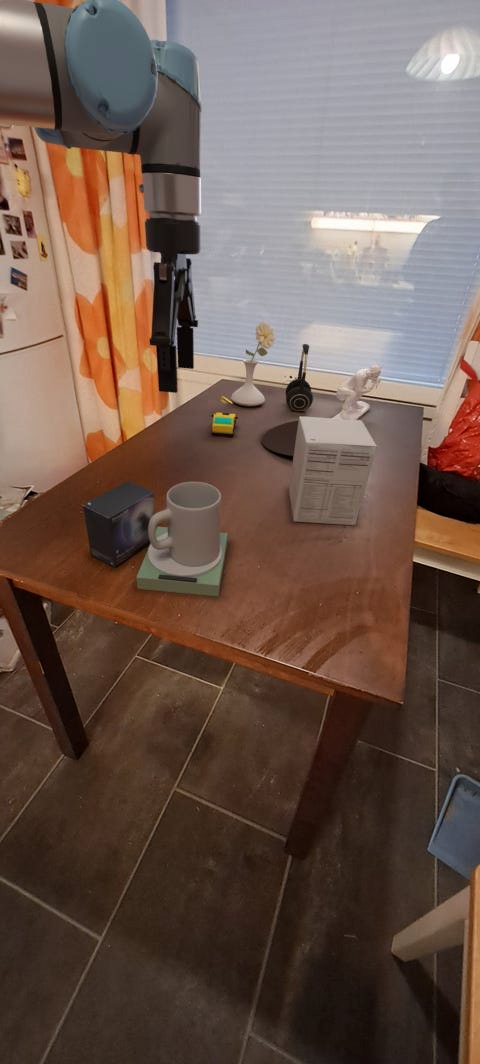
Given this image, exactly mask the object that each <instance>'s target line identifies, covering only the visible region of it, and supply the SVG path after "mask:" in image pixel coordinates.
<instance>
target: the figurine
mask: <svg viewBox="0 0 480 1064" xmlns="http://www.w3.org/2000/svg"><path fill="white" fill-rule="evenodd" d="M381 368H382V366H379V365H377V364H374V365H372V366H371V367H369V368H360V369H359V370H357V371H356V372H354V374H353V375H352V376H350V378H348V379H346V380H345V381H344V382H343V383H342V384H341V385H340V386H339V387H338V388H337V391H336V393H335V394H336V399H337V400H339V401H342V402H344V403H343V404H342V406H341V408H342V409H341V411H340V412H339V413H338V414H336V415H334V416H333V417H332V418H334V419H349V420H359V419H360V418H361V417H362V416H363V415H364V414H365V413H367V412H368V411H369V410H370V408H371V407H370V404H369V403H368V402H365V401H363V400H361V398H362V397H363V395H365V394H367V393H370V392H371V391H372V390H373V389H374V388H375V389H377V388H378V387H380V385H379V384H380V383H381V382H382V381H381V378H380V377H379V376H380V374H381V373H382V369H381ZM369 380H370V381H371V383H372V385H370V386H369V387H368V388H367V386H366V385H367V384H368V382H369Z"/></svg>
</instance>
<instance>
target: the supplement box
mask: <svg viewBox="0 0 480 1064" xmlns="http://www.w3.org/2000/svg"><path fill="white" fill-rule="evenodd" d="M298 420H299V422H298V429H297V436H296V443H295V450H294V456H292V457H293V458H292V465H291V473H290V480H289V487H288V495H289V501H290V508H291V515H292V521H293V522H297V523H312V524H328V525H329V524H330V525H345V526H346V525H347V526H356V524H357V521H358V518H359V513H360V510H361V506H362V502H363V498H364V495H365V491H366V488H367V485H368V484H367V483H368V481H369V478H370V473H371V469H372V466H373V462H374V458H375V455H376V452H377V448H378V445H377V444H376V442H375V441H374V439H373V436H372V435H371V434H370V431H369V430H368V428H367V427H366V425H365V423H364V422H363V420H361V419H357V420H349V419H334V418H333V417H316V416H302V415H300V416H299V417H298Z"/></svg>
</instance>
